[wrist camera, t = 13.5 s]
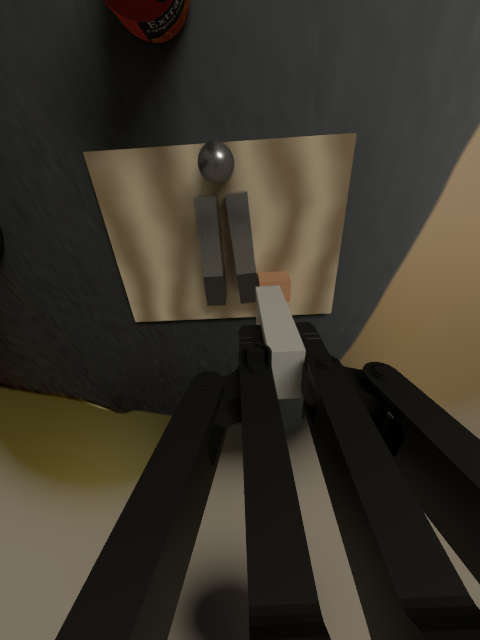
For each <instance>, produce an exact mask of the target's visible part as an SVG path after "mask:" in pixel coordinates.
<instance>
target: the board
mask: <svg viewBox="0 0 480 640" xmlns="http://www.w3.org/2000/svg"><path fill="white" fill-rule="evenodd" d="M356 135H357V133H349V134H334V135H320V136H306V137H292V138H277V139H263V140H249V141H234V142H222V143H224V144H225V145H226V146H228V148H229V149H230V151H231V152H232V154H233V157H234V160H235V169H234V172H233V174H232V176H231V177H230V178H229V179H228V180H227V181H225V182H222V183H211V182H209V181H207V180H206V179H205V178H204V177H203V176H202V175H201V173H200V171H199V168H198V154H199V152H200V150H201V148H202V147H203V146H204V145H205V144H192V145H177V146H163V147H149V148H135V149H120V150H106V151H92V152H83V154H84V157H85V160H86V164H87V167H88V170H89V173H90V176H91V180H92V183H93V186H94V189H95V193H96V196H97V199H98V202H99V206H100V209H101V212H102V215H103V219H104V222H105V225H106V228H107V231H108V235H109V238H110V241H111V244H112V248H113V251H114V254H115V257H116V261H117V264H118V267H119V270H120V274H121V277H122V280H123V283H124V286H125V290H126V293H127V296H128V299H129V303H130V306H131V309H132V312H133V316H134V319H135V322H149V321H171V320H193V319H216V318H238V317H256V302H253V303H244V304H241V302H240V295H239V289H238V282H237V276H236V275H237V272H236V266H235V259H234V252H233V246H232V239H231V232H230V226H229V219H228V212H227V205H226V199H225V195H226V193H231V192H238V191H244V190H247V194H248V203H249V212H250V221H251V231H252V240H253V249H254V258H255V266H256V273H257V282H258V273H259V272H279V271H287V273H288V275H289V277H290V279H291V291H290V302H286V303H287V305H288V308H289V310H290V313H291V315H305V314H327V313H331V309H332V302H333V295H334V288H335V281H336V274H337V267H338V260H339V253H340V246H341V239H342V232H343V225H344V219H345V212H346V205H347V198H348V191H349V184H350V177H351V170H352V163H353V156H354V149H355V142H356ZM211 194H218V198H219V209H220V220H221V232H222V243H223V254H224V265H225V272H226V283H227V301H226V305H218V306H207V300H206V293H205V285H204V278H203V277H204V274H203V267H202V259H201V252H200V245H199V237H198V230H197V222H196V215H195V208H194V200H193V198H194V197H196V196H198V195H211Z"/></svg>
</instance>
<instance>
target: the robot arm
mask: <svg viewBox="0 0 480 640" xmlns="http://www.w3.org/2000/svg"><path fill="white" fill-rule="evenodd" d="M2 251H3V239H2V234H1V230H0V258H1V256H2ZM301 390H302V393H303V396H304V402H303V410H302V419H305V415H306V418H307V421H308V425H309V428H310V432H311V435H312V438H313V442H314V445H315V449H316V452H317V456H318V459H319V462H320V465H321V469H322V473H323V476H324V479H325V483H326V486H327V489H328V493H329V496H330V500H331V503H332V507H333V510H334V513H335V517H336V520H337V524H338V527H339V531H340V534H341V537H342V541H343V544H344V547H345V551H346V554H347V558H348V561H349V565H350V568H351V571H352V575H353V577H354V582H355V585H356V589H357V592H358V595H359V598H360V602H361V605H362V609H363V612H364V615H365V619H366V623H367V626H368V629H369V633H370V637H371V640H480V609H479V608H478V607H477V606H476V605H475V603H474V601H473V600H472V599H471V597H470V595H469V593H468V591H467V590H466V588H465V586H464V584H463V582H462V580H461V579H460V577H459V575H458V573H457V572H456V570H455V568H454V566H453V564H452V563H451V561H450V559H449V557H448V555H447V554H446V552H445V550H444V548H443V546H442V545H441V543H440V541H439V539H438V537H437V536H436V534H435V532H434V530H433V528H432V527H431V525H430V523H429V521H428V520H427V517H428V518H429V519H430V520H431V522H432V523H433V524H434V526H435V527H436V528H437V530H438V531H439V532H440V533H441V535H442V536H443V537H444V539H445V540H446V541H447V543H448V544H449V545H450V546H451V548H452V549H453V550H454V552H455V553H456V554H457V555H458V557H459V558H460V559H461V561H462V562H463V563H464V565H465V566H466V567H467V568H468V570H469V571H470V572H471V574H472V575H473V576H474V577H475V579H476V580H477V581H478V582H479V584H480V439H478V438H477V437H476V436H475V435H473V434H472V433H471V432H470V431H469V430H468V429H466V428H465V427H464V426H463V425H461V424H460V423H459V422H458V421H457V420H456V419H454V418H453V417H452V416H451V415H450V414H448V413H447V412H446V411H445V410H444V409H443V408H441V407H440V406H439V405H438V404H436V403H435V402H434V401H433V400H432V399H430V398H429V397H428V396H427V395H426V394H424V393H423V392H422V391H421V390H420V389H419V388H417V387H416V386H415V385H414V384H413V383H411V382H410V381H409V380H408V379H407V378H405V377H404V376H403V375H402V374H401V373H400V372H398V371H397V370H396V369H394V368H393V367H391V366H390V365H387V364H384V363H380V362H369V363H367V364H365V365H364V367H363V370H359V369H354V368H349V367H344V366H342V364H341V363H340V361H339V360H338V359H337V358H335V357H333V356H331V355H329V353H328V351H327V349H326V347H325V345H324V343H323V341H322V340H321V339H320V336H319V334H318V332H317V330H316V328H315V326H313V325H312V324H311V323H309V322H294V320H293V318H292V315H291V313H290V310H289V308H288V305H287V303H286V300H285V298H284V295H283V293H282V290H281V288H280V285H278V286H259V287H256V325H248V326H242V327H241V329H240V330H239V366H238V368H237V369H236V370H235V371H234V372H233V373H231V374H228V375H226V376H221V375H219V374H218V373H215V372H212V371H211V372H203V373H199V374H198V375H196V376H195V377H194V378H193V379H192V380H191V381H190V383H189V385H188V387H187V389H186V391H185V393H184V395H183V397H182V399H181V400H180V402H179V404H178V406H177V408H176V410H175V412H174V414H173V416H172V418H171V420H170V422H169V423H168V425H167V427H166V429H165V431H164V434H163V435H162V437H161V439H160V441H159V443H158V444H157V446H156V448H155V450H154V452H153V454H152V456H151V458H150V460H149V461H148V463H147V465H146V467H145V469H144V471H143V473H142V475H141V477H140V479H139V481H138V482H137V485H136V486H135V488H134V490H133V492H132V494H131V496H130V498H129V500H128V502H127V503H126V505H125V507H124V509H123V511H122V513H121V515H120V517H119V519H118V521H117V522H116V524H115V526H114V528H113V530H112V532H111V534H110V536H109V538H108V540H107V542H106V543H105V545H104V547H103V549H102V551H101V553H100V555H99V557H98V559H97V561H96V563H95V564H94V566H93V568H92V570H91V572H90V574H89V576H88V578H87V580H86V582H85V583H84V585H83V587H82V589H81V591H80V593H79V595H78V597H77V599H76V601H75V602H74V605H73V606H72V608H71V610H70V612H69V614H68V616H67V618H66V620H65V622H64V624H63V625H62V627H61V629H60V631H59V633H58V635H57V637H56V639H55V640H167V638H168V635H169V631H170V628H171V624H172V621H173V618H174V614H175V610H176V607H177V604H178V600H179V597H180V593H181V590H182V586H183V583H184V579H185V576H186V572H187V569H188V565H189V562H190V559H191V555H192V552H193V548H194V545H195V541H196V537H197V534H198V531H199V527H200V524H201V520H202V517H203V513H204V510H205V506H206V503H207V499H208V495H209V492H210V489H211V486H212V482H213V478H214V475H215V472H216V468H217V465H218V461H219V458H220V454H221V451H222V447H223V444H224V440H225V437H226V433H227V430H228V426H231V425H234V424H236V423H239V422H242V441H243V442H242V443H243V467H244V468H243V469H244V495H245V520H246V548H247V573H248V597H249V598H248V600H249V631H250V632H249V637H250V640H331V639H330V636H329V634H328V631H327V629H326V626H325V624H324V621H323V617H322V614H321V610H320V606H319V601H318V596H317V591H316V586H315V581H314V576H313V571H312V566H311V561H310V556H309V551H308V546H307V541H306V536H305V531H304V526H303V521H302V516H301V511H300V506H299V501H298V496H297V491H296V487H295V481H294V476H293V471H292V466H291V461H290V457H289V451H288V446H287V442H286V436H285V431H284V426H283V421H282V416H281V411H280V406H279V401H278V399H290V398H301ZM388 412H389V413H390V414H391V415H392V416H393V417H392V416H391V415H390V414H389V413H388ZM423 511H424V512H423ZM424 513H425V514H426V515H427V517H426V516H425V514H424Z"/></svg>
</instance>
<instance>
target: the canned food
mask: <svg viewBox="0 0 480 640" xmlns="http://www.w3.org/2000/svg"><path fill="white" fill-rule="evenodd" d="M104 1H105V3H106V4H107V5H108V6H109V8H110V9H111V10H112V11H113V13H114V14H115V15H116V16H117V18H118V19H119V20H120V21H121V23H122V24H123V25H124V26H125V27H126V28H127V29H128V30H129V31H130V32H131V33H132V34H134V35H135V36H137V37H138V38H140V39H142V40H144V41H147V42H152V43H162V42H166V41H168V40H170V39H172V38H173V37H174V36H175V35H177V34H178V32H179V31H180V29H181V28H182V27H183V24H184V22H185V20H186V17H187V13H188V9H189V5H190V0H104Z"/></svg>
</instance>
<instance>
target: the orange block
mask: <svg viewBox="0 0 480 640" xmlns="http://www.w3.org/2000/svg"><path fill="white" fill-rule="evenodd" d="M278 285H280V288H281V290H282V293H283V295H284V298H285V300H286V302H290V291H291V279H290V277H289V275H288V273H287V271H279V272H259V273H258V287H259V286H278Z"/></svg>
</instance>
